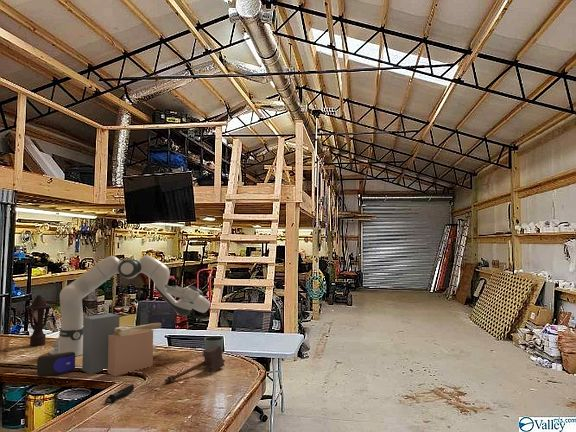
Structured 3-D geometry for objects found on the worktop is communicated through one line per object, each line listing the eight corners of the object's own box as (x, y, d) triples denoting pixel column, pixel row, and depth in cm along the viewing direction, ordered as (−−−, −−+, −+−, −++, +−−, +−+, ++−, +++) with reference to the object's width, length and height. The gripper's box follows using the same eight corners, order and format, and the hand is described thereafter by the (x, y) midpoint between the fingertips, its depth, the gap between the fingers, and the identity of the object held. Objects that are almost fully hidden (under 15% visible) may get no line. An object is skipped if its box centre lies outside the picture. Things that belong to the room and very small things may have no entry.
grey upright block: (82, 370, 212) (83, 317, 213) (109, 364, 223) (110, 313, 224) (90, 374, 206) (92, 319, 207) (118, 367, 217) (119, 315, 218)
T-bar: (114, 334, 211) (114, 328, 211) (155, 326, 229) (155, 321, 229) (122, 336, 207) (122, 329, 207) (163, 328, 224) (163, 322, 224)
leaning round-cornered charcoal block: (37, 378, 200) (37, 358, 200) (36, 376, 204) (37, 355, 204) (76, 372, 209) (76, 352, 210) (74, 370, 213) (75, 350, 213)
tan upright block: (107, 373, 208) (108, 335, 209) (145, 363, 223) (145, 328, 224) (115, 376, 203) (115, 337, 204) (152, 366, 219) (153, 330, 219)
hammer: (225, 365, 216) (223, 346, 215) (171, 396, 191) (168, 375, 190) (216, 362, 220) (214, 343, 219) (162, 393, 195) (159, 372, 194)
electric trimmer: (136, 392, 184) (136, 384, 184) (112, 405, 169) (112, 396, 169) (129, 391, 185) (129, 383, 185) (104, 404, 170) (104, 395, 170)
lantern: (30, 342, 269) (32, 293, 271) (55, 341, 271) (56, 293, 272) (18, 348, 255) (20, 297, 256) (45, 347, 256) (46, 296, 258)
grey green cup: (213, 357, 235) (213, 335, 236) (227, 360, 229) (227, 337, 230) (199, 361, 227) (200, 338, 227) (213, 365, 221) (213, 341, 221)
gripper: (179, 290, 254) (162, 279, 245) (201, 293, 241) (184, 282, 232) (174, 300, 251) (157, 290, 242) (197, 303, 238) (179, 293, 229)
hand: (170, 286), depth 237 cm, fingers open, 8 cm apart
